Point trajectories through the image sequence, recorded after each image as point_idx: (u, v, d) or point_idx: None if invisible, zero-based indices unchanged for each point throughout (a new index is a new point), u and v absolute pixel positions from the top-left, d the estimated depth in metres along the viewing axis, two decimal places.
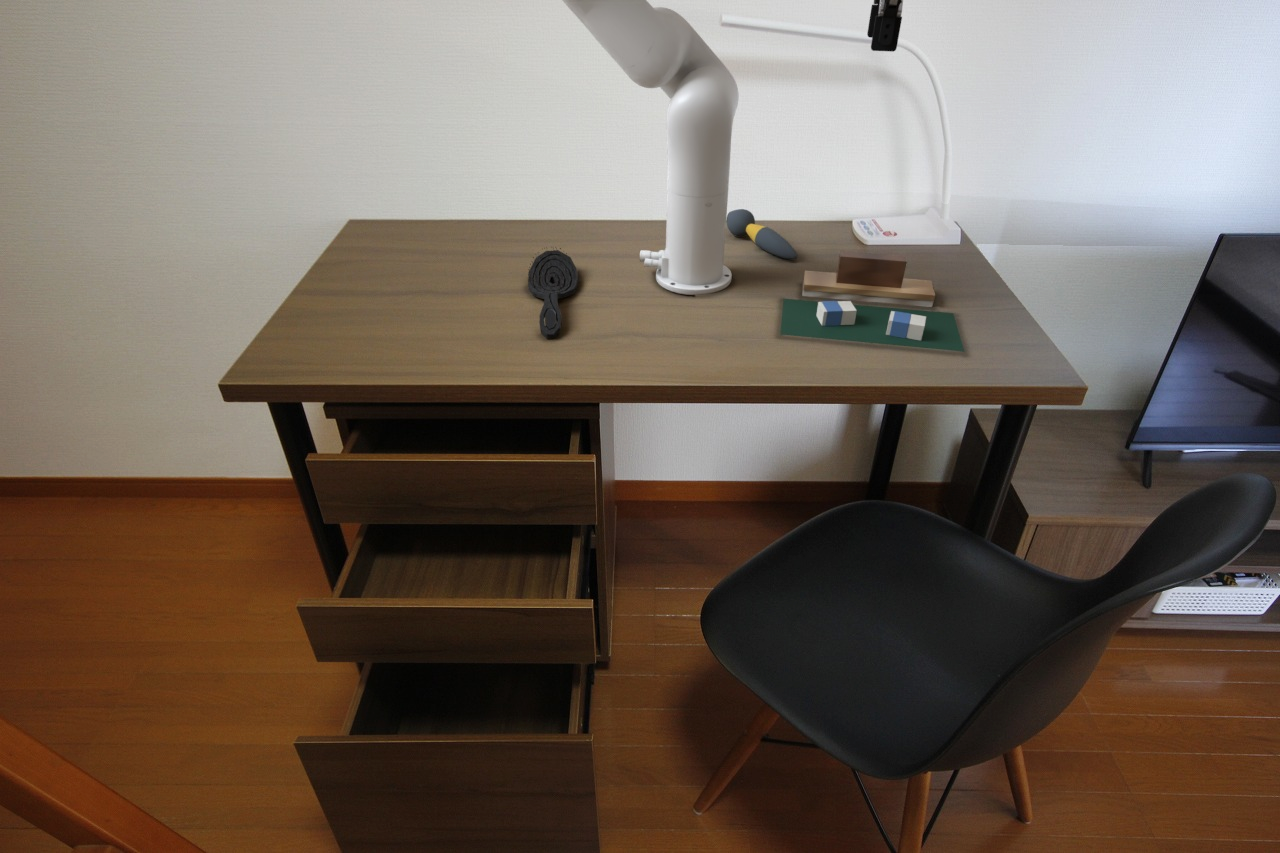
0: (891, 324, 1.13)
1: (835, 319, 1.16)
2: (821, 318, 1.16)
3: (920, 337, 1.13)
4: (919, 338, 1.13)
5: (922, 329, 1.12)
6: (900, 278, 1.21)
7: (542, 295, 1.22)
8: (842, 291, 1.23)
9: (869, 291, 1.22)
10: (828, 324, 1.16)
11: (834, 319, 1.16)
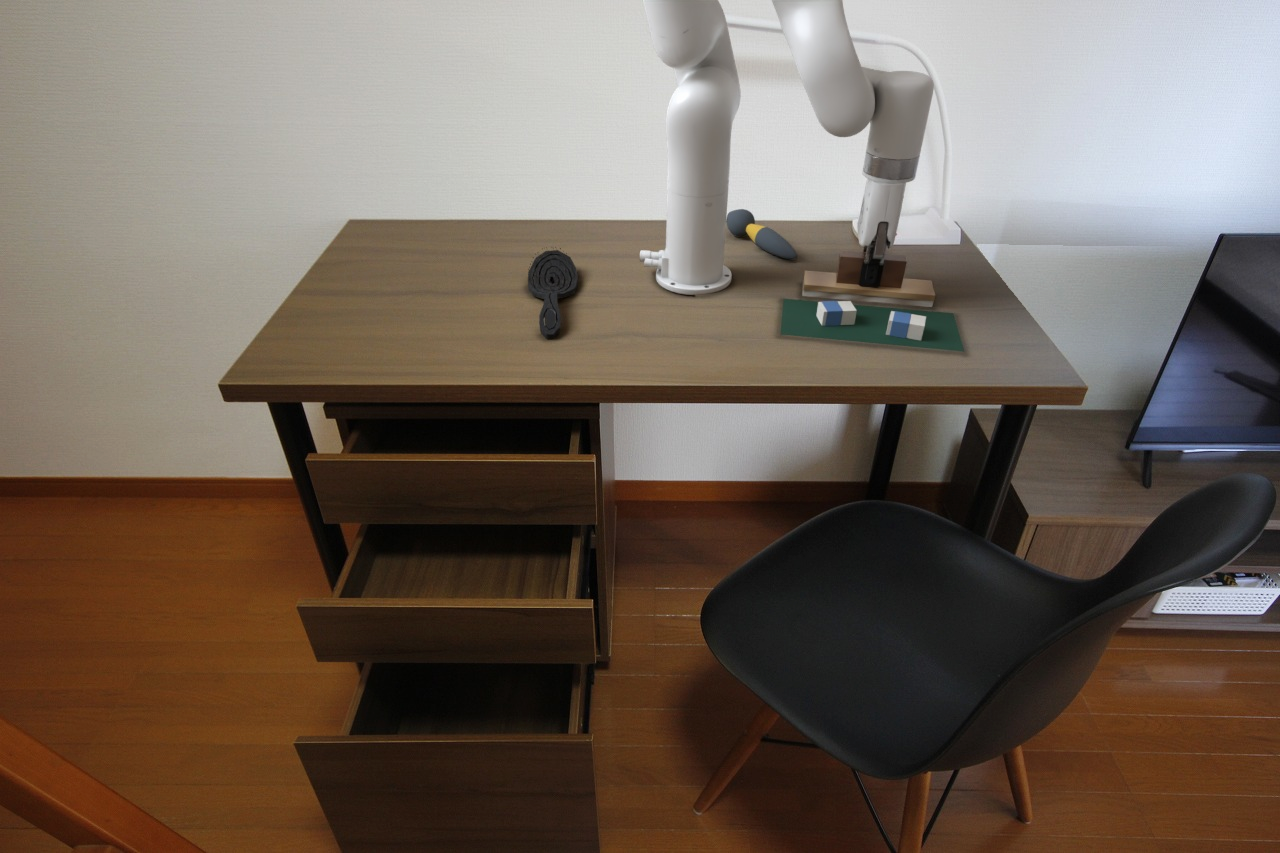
0: (891, 324, 1.13)
1: (835, 319, 1.16)
2: (821, 318, 1.16)
3: (920, 337, 1.13)
4: (919, 338, 1.13)
5: (922, 329, 1.12)
6: (900, 278, 1.21)
7: (542, 295, 1.22)
8: (842, 291, 1.23)
9: (869, 291, 1.22)
10: (828, 324, 1.16)
11: (834, 319, 1.16)
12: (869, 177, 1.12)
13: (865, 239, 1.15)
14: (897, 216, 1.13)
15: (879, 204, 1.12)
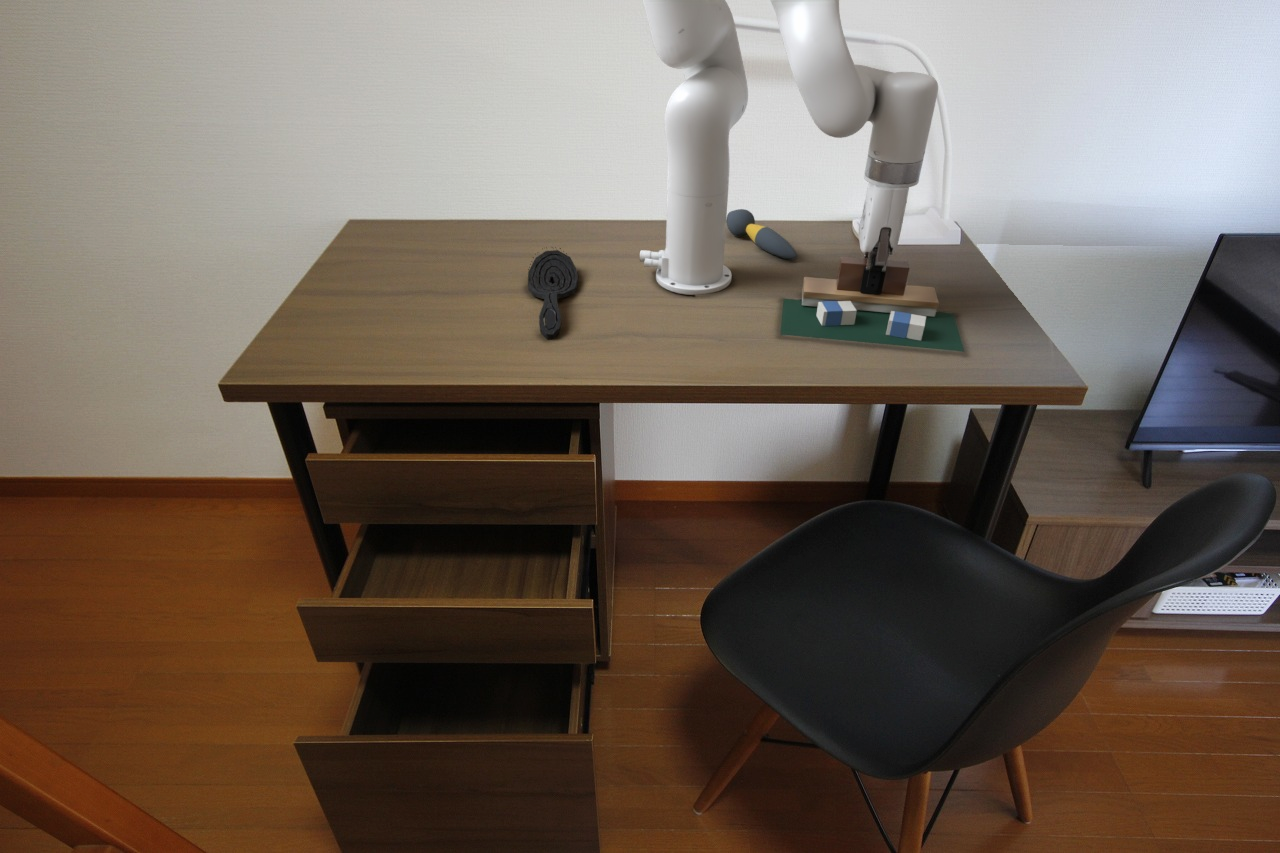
0: (891, 324, 1.13)
1: (835, 319, 1.16)
2: (821, 318, 1.16)
3: (920, 337, 1.13)
4: (919, 338, 1.13)
5: (922, 329, 1.12)
6: (902, 285, 1.18)
7: (542, 295, 1.22)
8: (843, 298, 1.19)
9: (871, 298, 1.19)
10: (828, 324, 1.16)
11: (834, 319, 1.16)
12: (871, 181, 1.09)
13: (867, 245, 1.12)
14: (900, 222, 1.09)
15: (881, 209, 1.08)
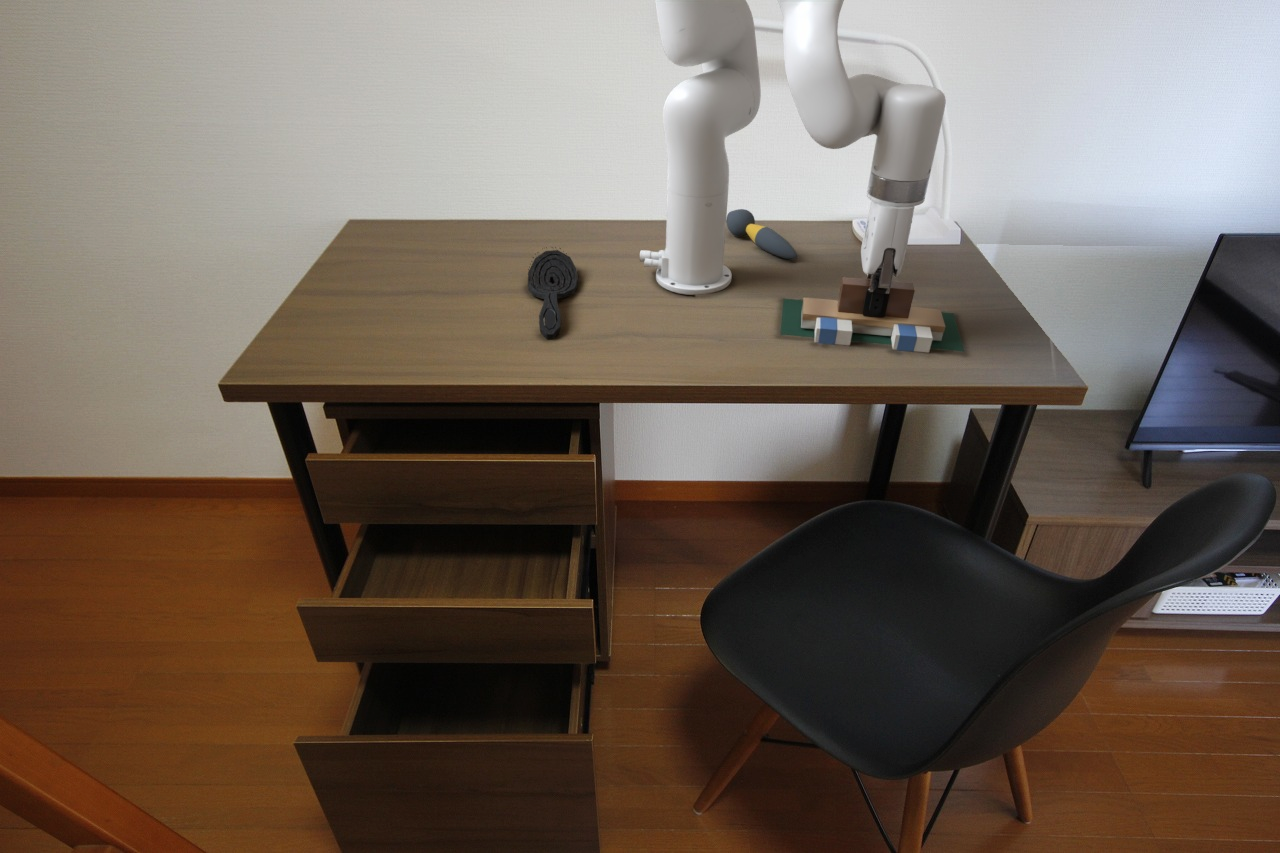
0: (898, 338, 1.10)
1: (829, 337, 1.12)
2: (815, 334, 1.12)
3: (928, 349, 1.10)
4: (927, 350, 1.10)
5: (930, 341, 1.09)
6: (907, 307, 1.12)
7: (542, 295, 1.22)
8: None
9: (874, 321, 1.12)
10: (821, 342, 1.12)
11: (828, 337, 1.12)
12: (874, 200, 1.03)
13: (870, 267, 1.06)
14: (905, 242, 1.03)
15: (885, 229, 1.02)
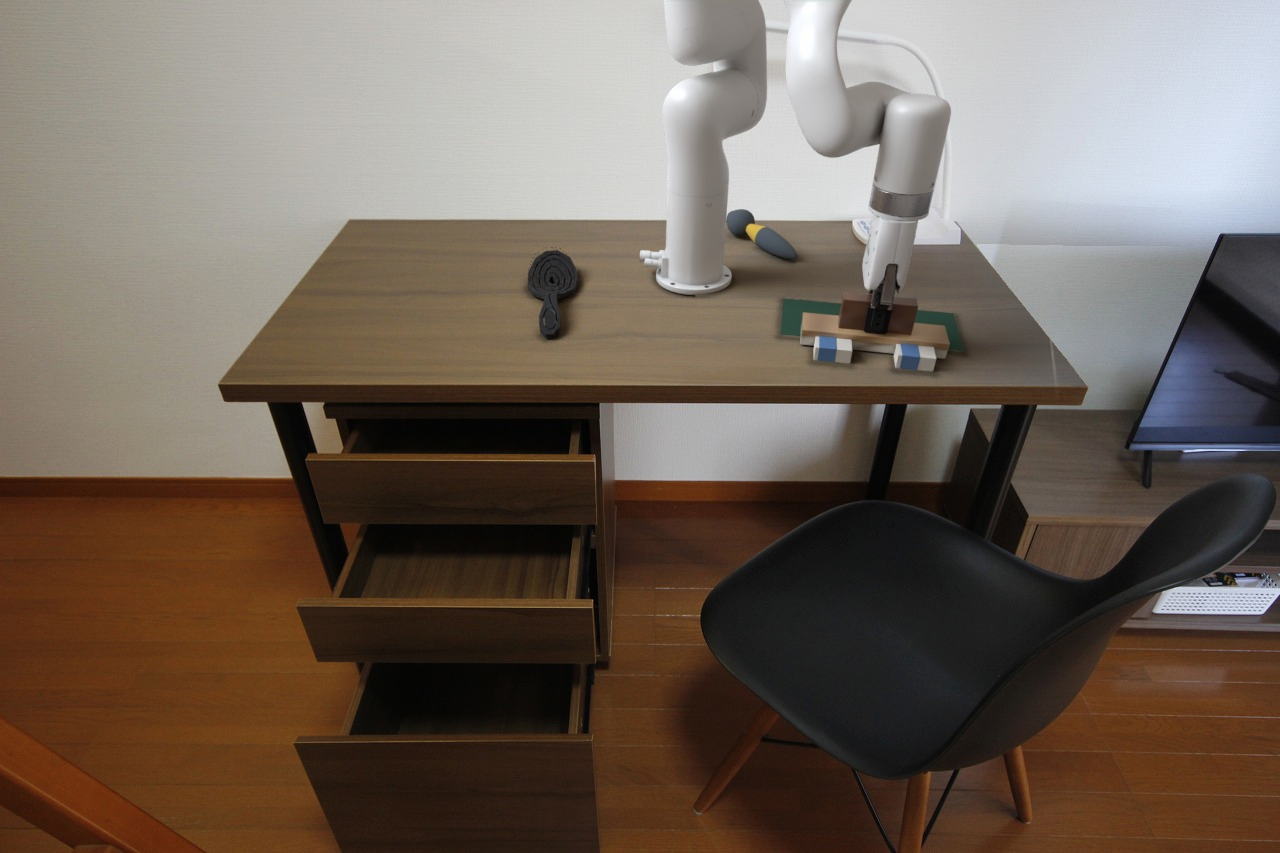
0: (901, 359, 1.06)
1: (828, 356, 1.08)
2: (814, 354, 1.09)
3: (931, 370, 1.06)
4: None
5: (934, 362, 1.05)
6: (910, 324, 1.08)
7: (542, 295, 1.22)
8: (845, 338, 1.09)
9: (875, 338, 1.09)
10: None
11: (827, 357, 1.08)
12: (876, 213, 0.99)
13: (871, 283, 1.02)
14: (908, 258, 0.99)
15: (888, 244, 0.98)
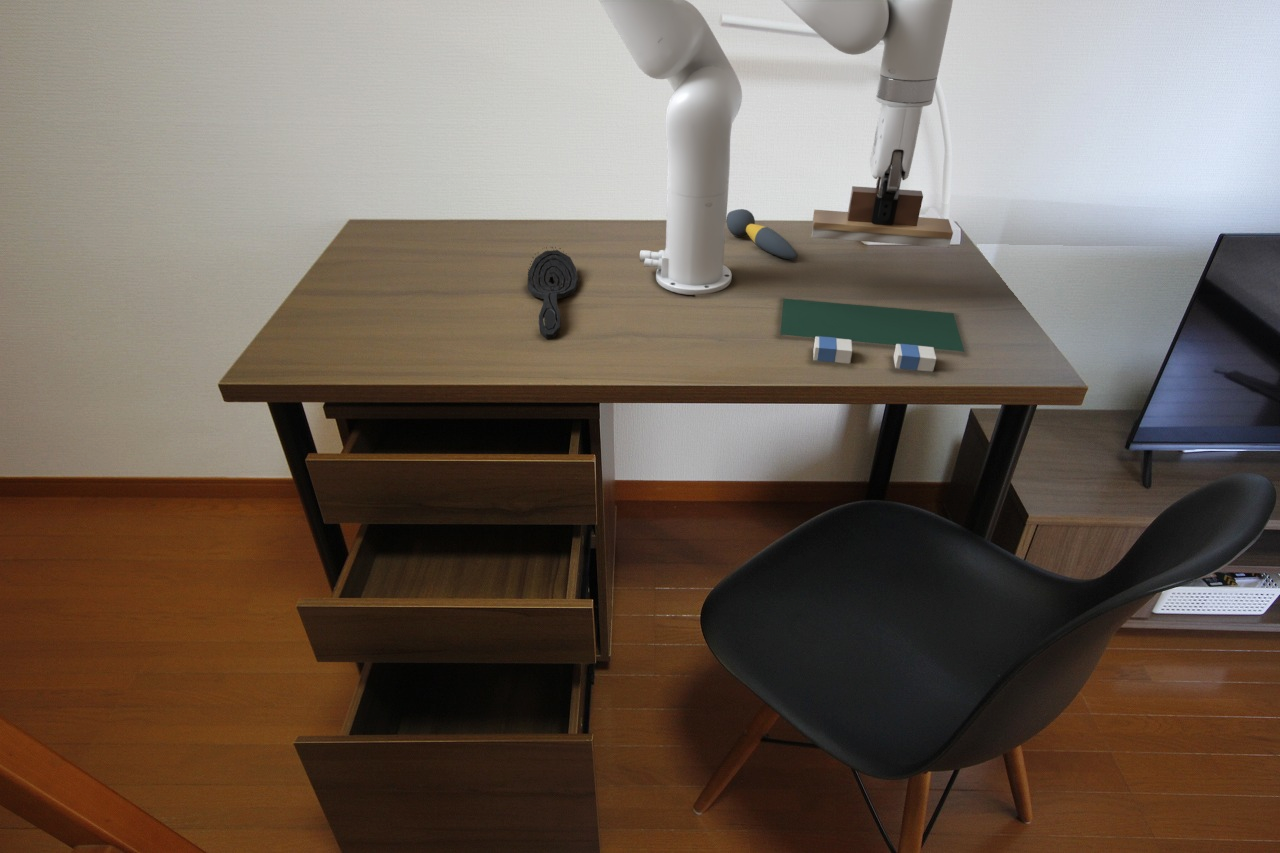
0: (901, 359, 1.06)
1: (828, 357, 1.08)
2: (813, 354, 1.09)
3: (931, 370, 1.06)
4: None
5: (934, 362, 1.05)
6: (915, 214, 1.15)
7: (541, 295, 1.22)
8: (854, 229, 1.16)
9: (883, 229, 1.15)
10: None
11: (827, 357, 1.08)
12: (883, 102, 1.06)
13: (879, 169, 1.08)
14: (913, 143, 1.06)
15: (894, 130, 1.05)
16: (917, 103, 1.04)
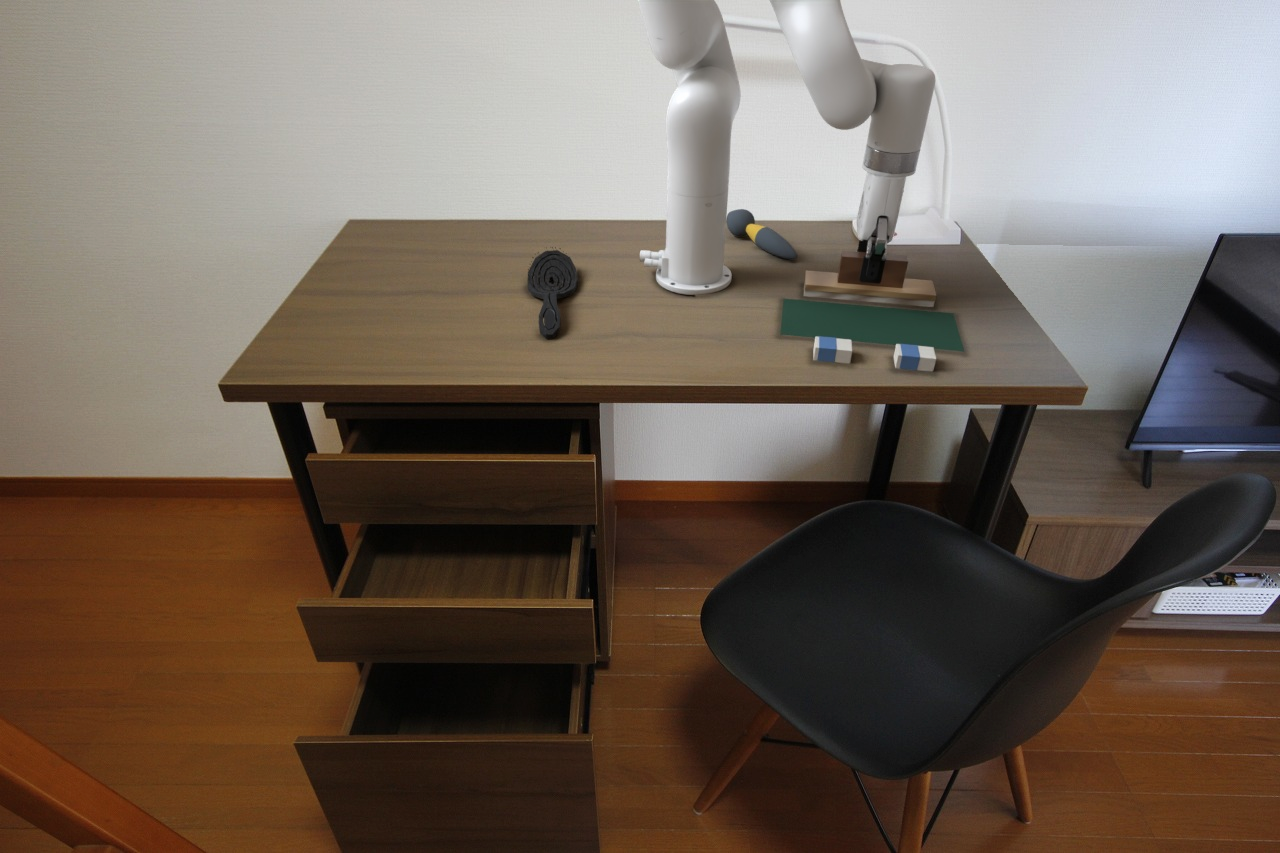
0: (901, 359, 1.06)
1: (828, 357, 1.08)
2: (813, 354, 1.09)
3: (931, 370, 1.06)
4: None
5: (934, 362, 1.05)
6: (901, 278, 1.21)
7: (541, 295, 1.22)
8: (843, 291, 1.23)
9: (870, 291, 1.22)
10: None
11: (827, 357, 1.08)
12: (869, 171, 1.12)
13: (864, 233, 1.15)
14: (897, 210, 1.12)
15: (879, 198, 1.11)
16: (901, 173, 1.10)
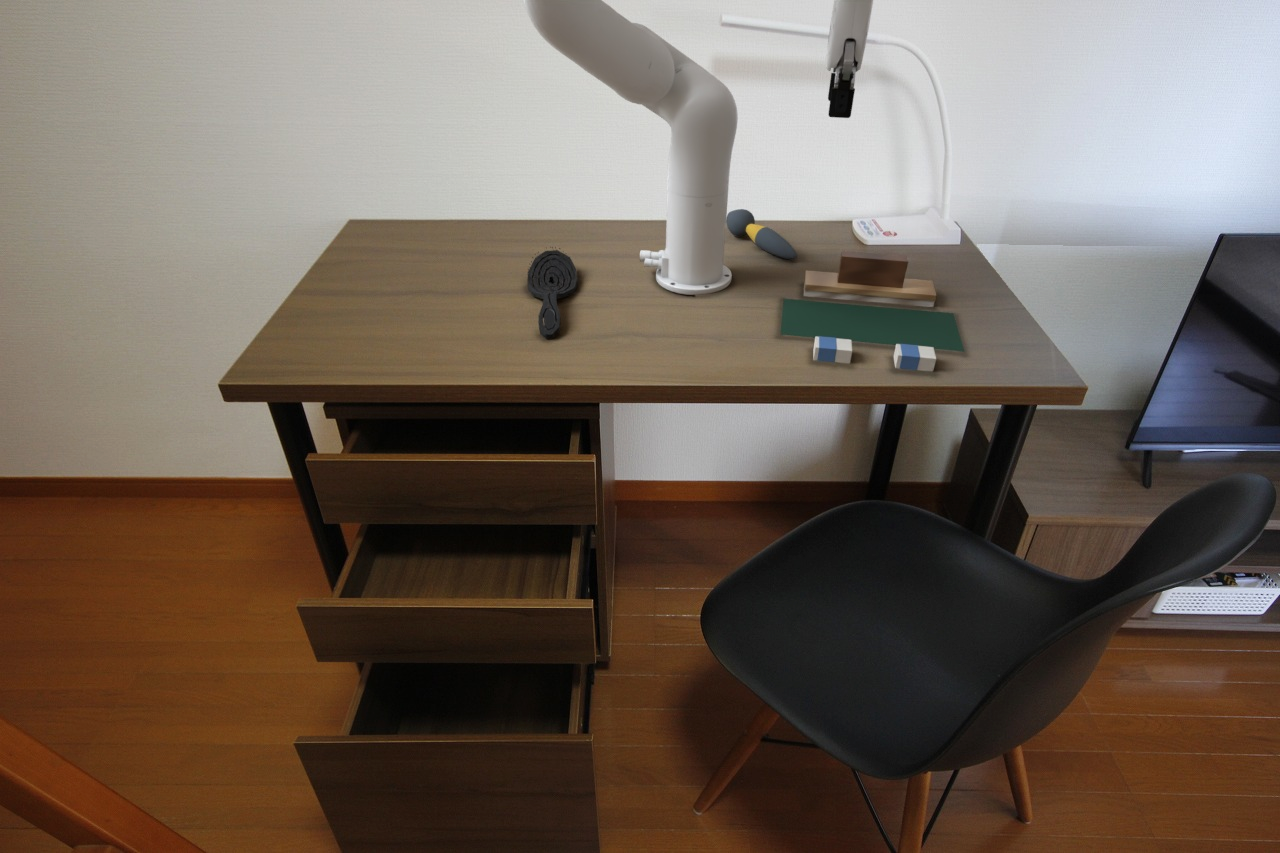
0: (900, 359, 1.06)
1: (828, 356, 1.08)
2: (813, 354, 1.09)
3: (931, 370, 1.06)
4: None
5: (934, 362, 1.05)
6: (901, 278, 1.21)
7: (541, 295, 1.22)
8: (843, 291, 1.23)
9: (870, 291, 1.22)
10: None
11: (827, 357, 1.08)
12: None
13: (832, 60, 1.10)
14: (864, 32, 1.08)
15: (845, 18, 1.07)
16: None
